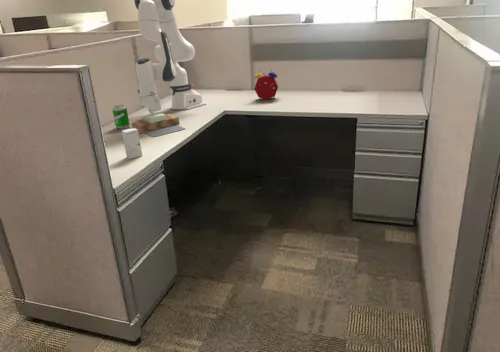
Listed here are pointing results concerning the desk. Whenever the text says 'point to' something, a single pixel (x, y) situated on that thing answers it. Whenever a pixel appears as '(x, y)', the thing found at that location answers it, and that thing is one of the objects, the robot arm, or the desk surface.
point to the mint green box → (156, 118)
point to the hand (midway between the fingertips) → (152, 116)
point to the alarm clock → (266, 85)
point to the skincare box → (132, 143)
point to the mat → (165, 130)
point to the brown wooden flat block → (155, 124)
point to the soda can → (120, 116)
